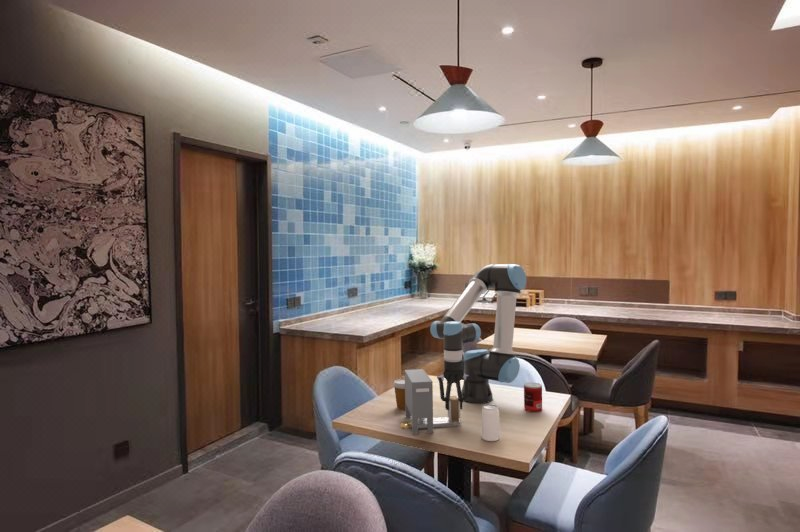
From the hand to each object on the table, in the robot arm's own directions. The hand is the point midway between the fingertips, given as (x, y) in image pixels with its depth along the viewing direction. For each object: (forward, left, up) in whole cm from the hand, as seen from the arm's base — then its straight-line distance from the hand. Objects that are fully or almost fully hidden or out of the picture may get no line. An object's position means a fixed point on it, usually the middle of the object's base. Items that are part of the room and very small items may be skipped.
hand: (454, 417), depth 196 cm
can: (-10, +18, -3) cm, 21 cm away
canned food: (-39, -12, -3) cm, 41 cm away
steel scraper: (+7, 0, -3) cm, 8 cm away
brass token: (+19, 0, -3) cm, 20 cm away
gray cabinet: (+14, -2, -3) cm, 15 cm away
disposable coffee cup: (+17, -24, -3) cm, 30 cm away
